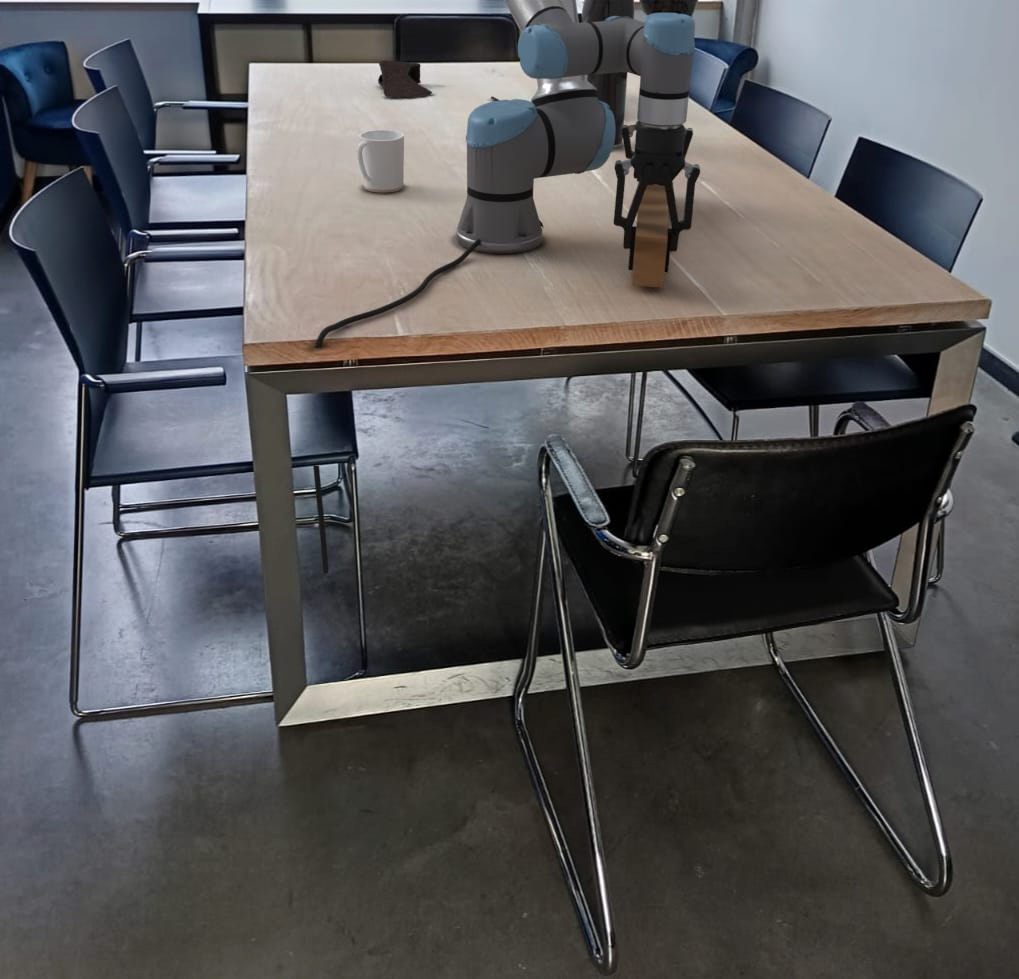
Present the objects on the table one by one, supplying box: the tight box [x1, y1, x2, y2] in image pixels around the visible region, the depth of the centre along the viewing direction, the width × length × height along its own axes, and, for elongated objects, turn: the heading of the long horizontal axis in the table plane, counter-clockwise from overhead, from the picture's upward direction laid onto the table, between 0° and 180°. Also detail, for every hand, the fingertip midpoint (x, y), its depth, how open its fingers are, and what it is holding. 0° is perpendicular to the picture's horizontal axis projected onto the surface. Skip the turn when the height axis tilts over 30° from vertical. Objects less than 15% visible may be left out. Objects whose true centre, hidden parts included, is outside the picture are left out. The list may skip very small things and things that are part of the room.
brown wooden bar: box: [631, 184, 669, 288], centre depth 196 cm, size 55×5×8 cm, turn 173°
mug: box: [356, 129, 405, 194], centre depth 219 cm, size 11×9×10 cm
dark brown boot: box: [377, 59, 433, 99], centre depth 299 cm, size 18×8×15 cm
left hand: (648, 268), depth 180 cm, fingers closed on brown wooden bar, 5 cm apart
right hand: (652, 181), depth 214 cm, fingers closed on brown wooden bar, 5 cm apart
